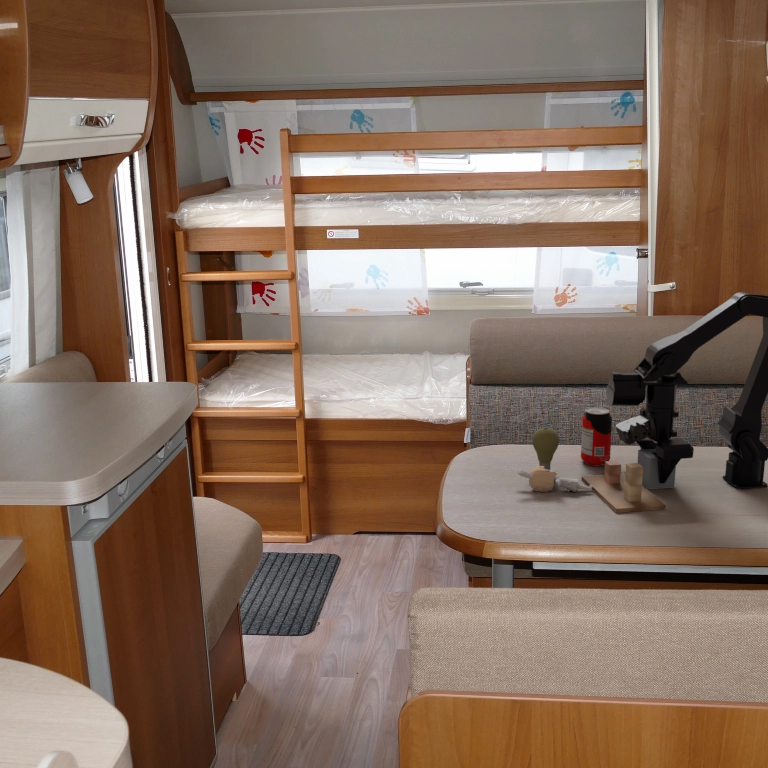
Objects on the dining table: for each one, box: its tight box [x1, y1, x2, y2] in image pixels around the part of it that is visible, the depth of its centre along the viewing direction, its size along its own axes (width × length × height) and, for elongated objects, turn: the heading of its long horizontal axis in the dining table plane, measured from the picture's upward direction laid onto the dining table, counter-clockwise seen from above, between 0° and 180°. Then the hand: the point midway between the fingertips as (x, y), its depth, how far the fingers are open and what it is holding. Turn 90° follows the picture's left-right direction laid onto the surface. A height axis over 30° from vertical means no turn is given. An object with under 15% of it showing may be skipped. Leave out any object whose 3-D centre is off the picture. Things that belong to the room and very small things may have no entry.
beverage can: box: [580, 406, 613, 467], centre depth 187 cm, size 6×6×12 cm
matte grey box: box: [637, 449, 677, 490], centre depth 174 cm, size 6×6×7 cm
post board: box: [581, 460, 667, 514], centre depth 169 cm, size 10×18×8 cm, turn 8°
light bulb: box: [531, 426, 560, 470], centre depth 181 cm, size 6×6×10 cm
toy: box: [517, 465, 593, 493], centre depth 172 cm, size 10×5×15 cm
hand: (655, 477), depth 174 cm, fingers closed on matte grey box, 6 cm apart
